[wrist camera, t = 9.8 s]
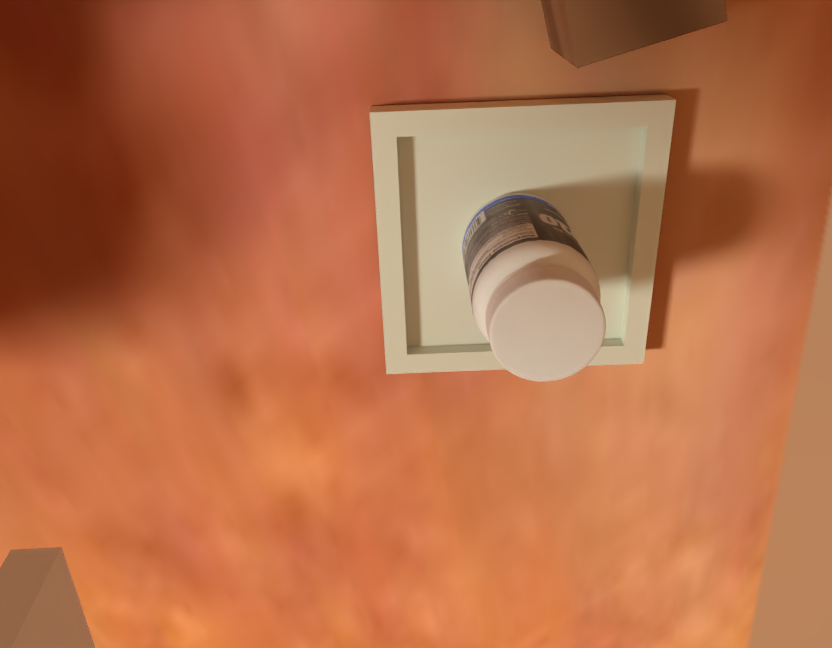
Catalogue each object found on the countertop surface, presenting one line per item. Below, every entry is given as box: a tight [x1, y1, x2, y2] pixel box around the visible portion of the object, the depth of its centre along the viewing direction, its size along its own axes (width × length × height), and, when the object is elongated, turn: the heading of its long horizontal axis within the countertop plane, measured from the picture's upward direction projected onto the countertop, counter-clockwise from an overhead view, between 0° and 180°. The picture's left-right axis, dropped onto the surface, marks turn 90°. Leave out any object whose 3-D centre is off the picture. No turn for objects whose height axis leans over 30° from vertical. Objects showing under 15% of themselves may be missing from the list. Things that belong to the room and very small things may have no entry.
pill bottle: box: [462, 193, 606, 382], centre depth 29 cm, size 5×5×8 cm
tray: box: [370, 94, 676, 374], centre depth 32 cm, size 12×12×1 cm
